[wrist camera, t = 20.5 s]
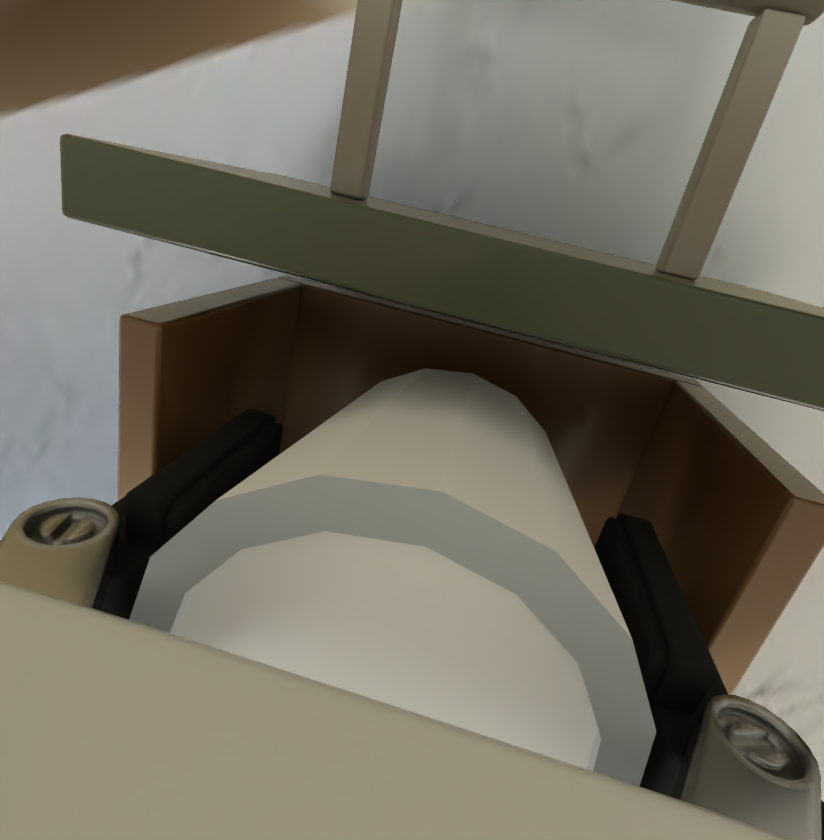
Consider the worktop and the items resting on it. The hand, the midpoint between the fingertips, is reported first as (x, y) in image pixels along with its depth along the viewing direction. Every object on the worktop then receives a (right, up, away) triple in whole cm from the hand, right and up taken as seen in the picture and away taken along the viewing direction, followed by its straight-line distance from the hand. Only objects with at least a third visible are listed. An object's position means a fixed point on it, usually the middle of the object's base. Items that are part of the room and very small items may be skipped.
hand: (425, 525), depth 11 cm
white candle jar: (0, +1, +2) cm, 2 cm away
